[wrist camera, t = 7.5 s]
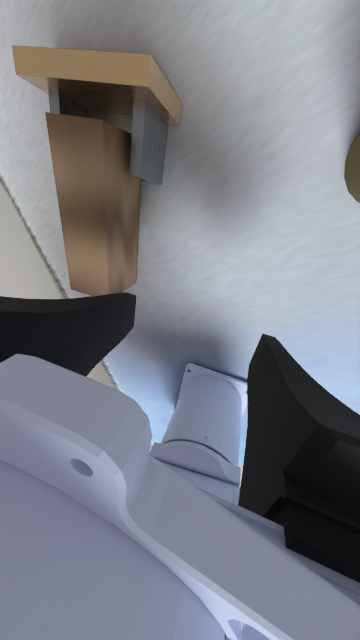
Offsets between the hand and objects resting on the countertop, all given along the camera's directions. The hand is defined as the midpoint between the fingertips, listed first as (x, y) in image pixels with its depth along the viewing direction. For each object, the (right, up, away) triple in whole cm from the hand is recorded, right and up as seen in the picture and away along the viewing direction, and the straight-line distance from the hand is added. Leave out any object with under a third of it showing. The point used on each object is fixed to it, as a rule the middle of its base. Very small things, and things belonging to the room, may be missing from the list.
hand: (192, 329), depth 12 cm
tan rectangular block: (-6, +10, +8) cm, 15 cm away
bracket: (-5, +16, +6) cm, 18 cm away
